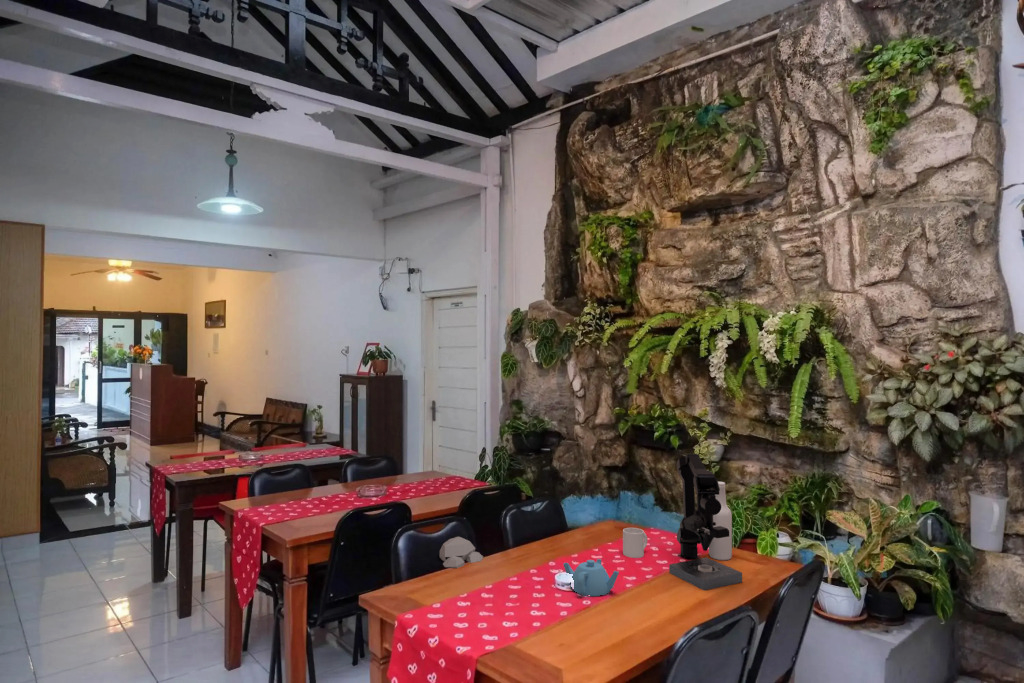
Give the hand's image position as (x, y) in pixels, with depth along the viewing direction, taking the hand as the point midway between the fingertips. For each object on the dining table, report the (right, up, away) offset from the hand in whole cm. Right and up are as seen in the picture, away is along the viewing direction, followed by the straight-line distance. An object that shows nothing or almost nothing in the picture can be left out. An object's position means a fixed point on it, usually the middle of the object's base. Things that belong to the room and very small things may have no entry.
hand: (705, 550), depth 228 cm
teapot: (-43, -10, -13) cm, 47 cm away
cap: (0, -10, 0) cm, 10 cm away
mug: (-20, -11, +25) cm, 34 cm away
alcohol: (+13, -11, +23) cm, 29 cm away
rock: (-92, -10, +13) cm, 94 cm away
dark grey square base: (0, -10, 0) cm, 10 cm away
